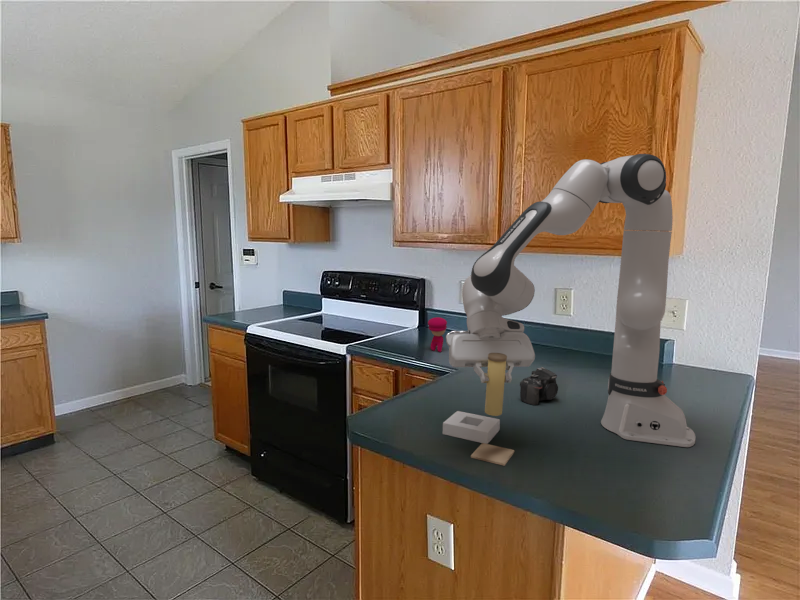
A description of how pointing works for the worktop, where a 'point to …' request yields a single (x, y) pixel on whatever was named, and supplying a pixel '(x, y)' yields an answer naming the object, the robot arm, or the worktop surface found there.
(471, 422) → the socket block
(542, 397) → the camera
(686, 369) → the worktop surface
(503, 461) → the mat
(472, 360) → the robot arm
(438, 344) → the toy
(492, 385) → the plug
